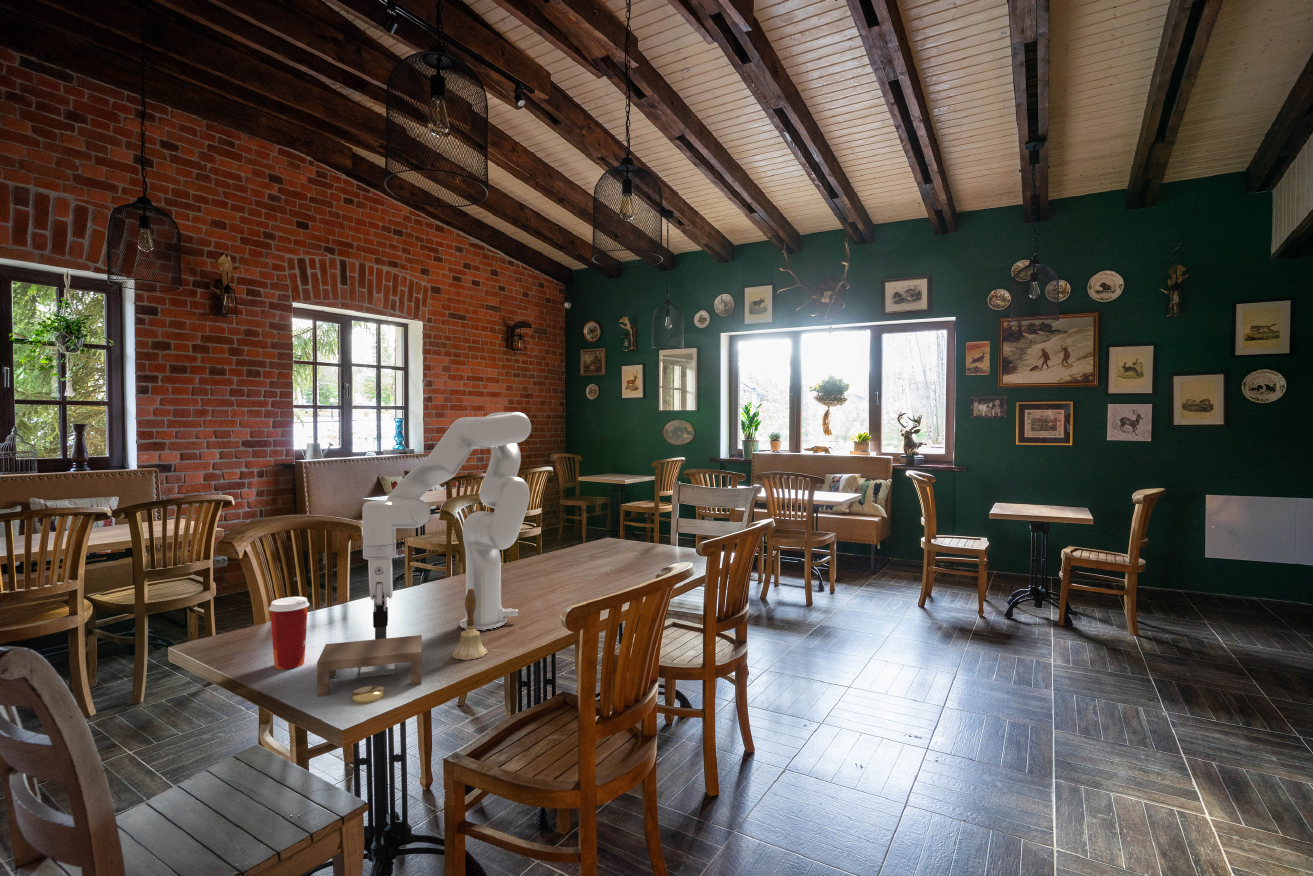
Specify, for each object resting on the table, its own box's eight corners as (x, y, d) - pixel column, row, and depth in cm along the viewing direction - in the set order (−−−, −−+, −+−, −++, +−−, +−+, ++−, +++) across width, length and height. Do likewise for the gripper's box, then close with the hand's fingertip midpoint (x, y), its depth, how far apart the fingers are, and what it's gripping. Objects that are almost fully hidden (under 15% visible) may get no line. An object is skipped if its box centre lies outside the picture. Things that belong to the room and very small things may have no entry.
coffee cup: (317, 661, 154) (317, 597, 154) (287, 673, 146) (287, 606, 146) (290, 657, 157) (290, 594, 157) (259, 668, 149) (259, 603, 149)
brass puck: (384, 691, 137) (384, 684, 137) (383, 702, 132) (383, 695, 132) (353, 695, 135) (353, 688, 135) (350, 707, 129) (350, 699, 129)
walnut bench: (421, 665, 152) (421, 635, 152) (421, 684, 140) (421, 651, 140) (326, 675, 145) (325, 644, 145) (317, 696, 134) (317, 662, 134)
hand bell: (493, 650, 162) (493, 586, 162) (477, 661, 154) (477, 594, 154) (463, 647, 164) (463, 584, 164) (445, 659, 156) (445, 592, 156)
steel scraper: (396, 646, 164) (396, 586, 164) (394, 673, 146) (394, 606, 146) (365, 649, 162) (365, 588, 162) (360, 677, 144) (359, 608, 144)
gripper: (395, 555, 155) (396, 633, 156) (396, 544, 170) (397, 614, 171) (360, 558, 153) (361, 636, 153) (365, 546, 168) (366, 618, 168)
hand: (380, 624), depth 162 cm, fingers closed on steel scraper, 2 cm apart
